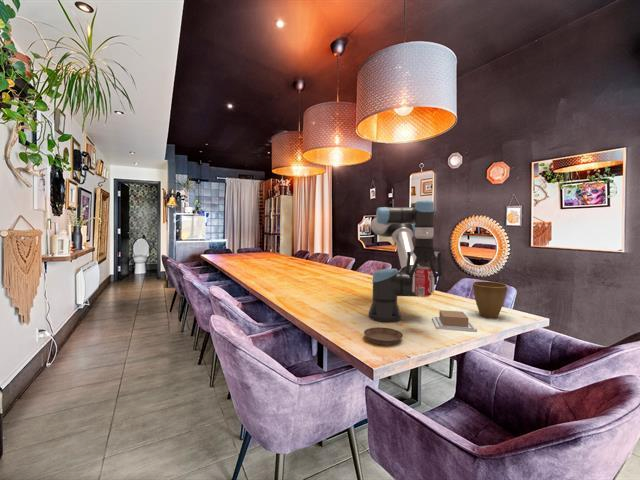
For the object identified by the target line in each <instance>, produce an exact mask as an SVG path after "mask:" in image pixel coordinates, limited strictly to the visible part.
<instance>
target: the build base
mask: <svg viewBox="0 0 640 480" xmlns="http://www.w3.org/2000/svg"><path fill="white" fill-rule="evenodd" d="M438 312H439V316H432V317H431V320H432V322H433V324H434V326H435V329H437V330H450V331H461V332H463V331H464V332H475V333H476V332H478V328H477V327H476V326H475V325H474V324H473V323H472V321H470V319H469V316H467V314H466V313H465V312H464V311H457V310H442V309H441V310H439V311H438Z"/></svg>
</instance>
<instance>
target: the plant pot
mask: <svg viewBox="0 0 640 480" xmlns="http://www.w3.org/2000/svg"><path fill="white" fill-rule="evenodd" d="M507 290H508V285H507V284H505V283H501V282H496V281H485V280H482V281H478V280H477V281H473V282H472V291H473V296H474V300H475V303H476V308H477V311H478V312H479V315H480V316H481V317H483V318H488V319H497V318H498V316H499V315H500V312H501V310H502V307H503V305H504V303H505V298H506V295H507V292H508V291H507Z"/></svg>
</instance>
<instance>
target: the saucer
mask: <svg viewBox="0 0 640 480" xmlns="http://www.w3.org/2000/svg"><path fill="white" fill-rule="evenodd" d="M363 334H364V336H365V337H366V338H367V339H368V340H369V341H370V342H372V343H374V344H376V345H383V346H390V345H391V346H392V345H395V344H397V343H398V342H400V341H401V340H402V338H403V337H404V334H403V332H401V331H400V330H396V329H394V328H389V327H369V328H366V329H365V330H364V331H363Z"/></svg>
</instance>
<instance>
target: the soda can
mask: <svg viewBox="0 0 640 480" xmlns="http://www.w3.org/2000/svg"><path fill="white" fill-rule="evenodd" d="M414 276H415V292H414V293H415V294H416V295H417V296H419V297H420V298H428V297H430V296H432V294H433V293H432V277H433V273H432V270H431V268H430V266H421V267H416V270H415V275H414ZM419 297H418V298H419Z"/></svg>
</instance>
